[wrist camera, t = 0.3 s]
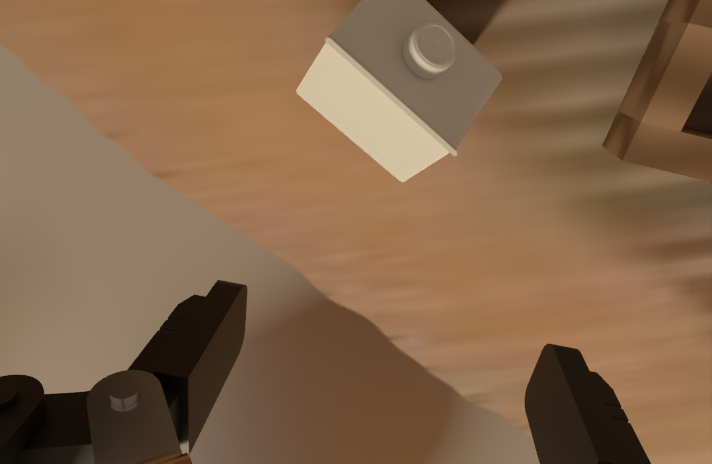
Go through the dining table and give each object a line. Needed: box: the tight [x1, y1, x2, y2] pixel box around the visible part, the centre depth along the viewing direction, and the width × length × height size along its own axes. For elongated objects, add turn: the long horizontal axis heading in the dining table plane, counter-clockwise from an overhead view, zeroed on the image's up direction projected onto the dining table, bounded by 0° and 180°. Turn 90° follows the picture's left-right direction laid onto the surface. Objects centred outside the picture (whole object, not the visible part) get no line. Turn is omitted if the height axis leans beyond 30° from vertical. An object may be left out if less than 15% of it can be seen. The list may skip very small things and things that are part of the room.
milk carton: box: [296, 0, 502, 182], centre depth 28 cm, size 7×7×19 cm
